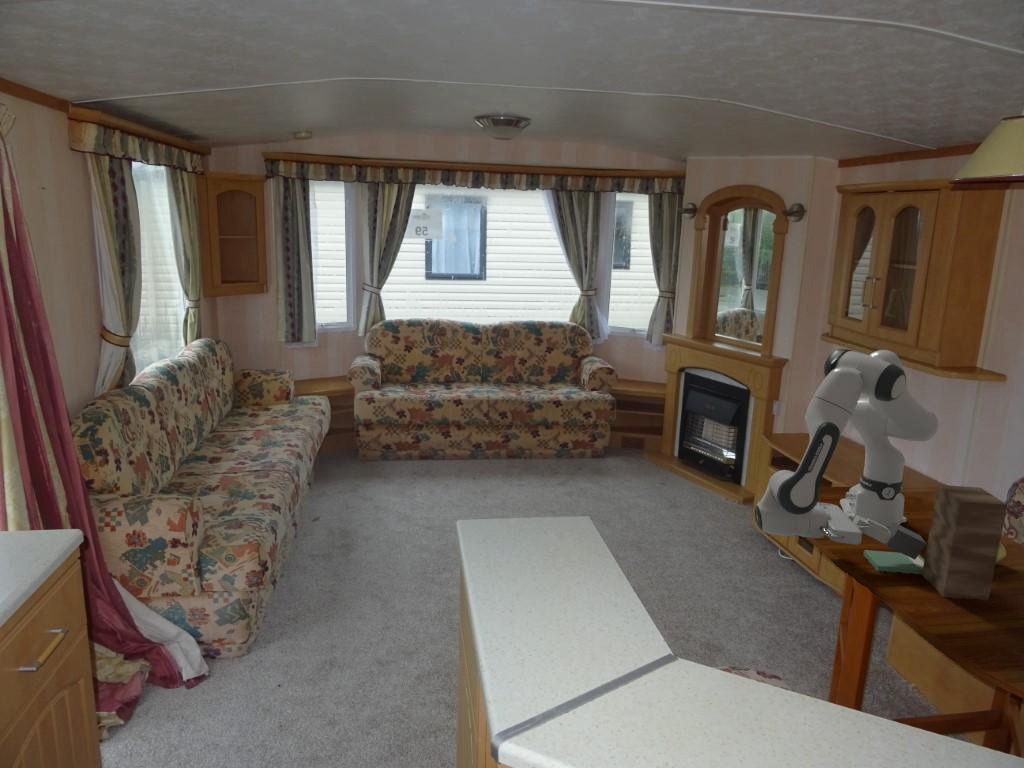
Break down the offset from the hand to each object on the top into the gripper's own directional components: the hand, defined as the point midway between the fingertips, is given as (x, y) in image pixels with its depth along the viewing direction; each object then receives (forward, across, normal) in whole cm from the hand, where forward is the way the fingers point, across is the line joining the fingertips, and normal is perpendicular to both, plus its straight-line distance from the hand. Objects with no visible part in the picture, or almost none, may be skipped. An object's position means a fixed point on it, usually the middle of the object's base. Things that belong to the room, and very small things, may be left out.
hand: (866, 525), depth 203 cm
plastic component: (+31, +4, +12) cm, 34 cm away
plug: (+4, -1, +4) cm, 6 cm away
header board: (+10, 0, +11) cm, 15 cm away
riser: (+20, -12, +11) cm, 25 cm away
